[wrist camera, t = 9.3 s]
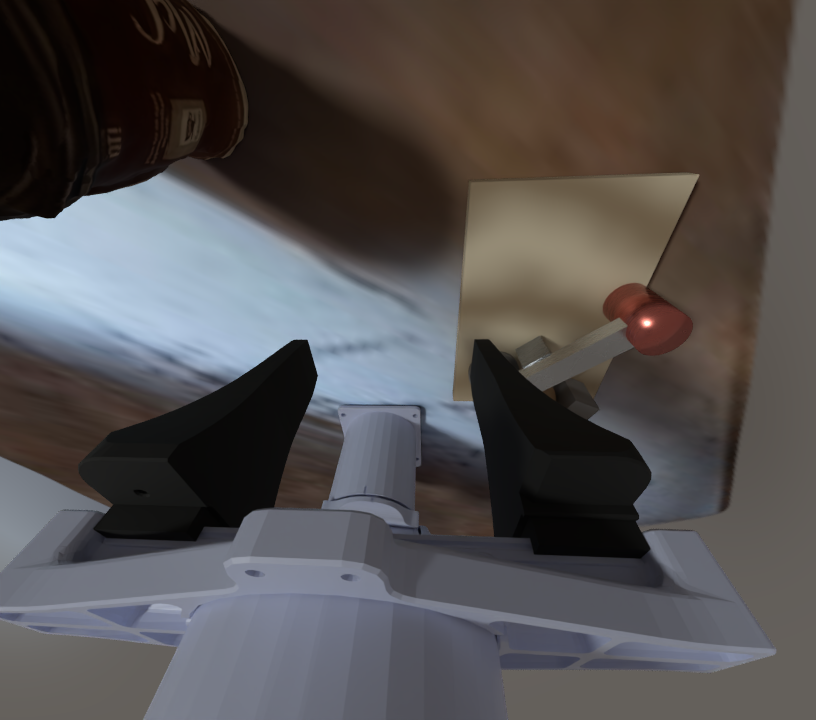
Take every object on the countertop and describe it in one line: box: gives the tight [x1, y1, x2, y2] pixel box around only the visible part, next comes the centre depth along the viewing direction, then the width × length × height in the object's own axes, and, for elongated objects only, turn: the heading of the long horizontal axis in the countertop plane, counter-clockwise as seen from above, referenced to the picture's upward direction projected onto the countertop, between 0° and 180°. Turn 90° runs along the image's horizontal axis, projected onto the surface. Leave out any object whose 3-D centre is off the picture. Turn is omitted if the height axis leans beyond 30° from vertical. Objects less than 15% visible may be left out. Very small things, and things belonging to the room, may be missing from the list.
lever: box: [515, 283, 693, 391], centre depth 21 cm, size 13×3×4 cm, turn 131°
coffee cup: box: [0, 0, 248, 221], centre depth 10 cm, size 9×8×13 cm
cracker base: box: [453, 173, 699, 420], centre depth 21 cm, size 18×12×4 cm, turn 2°
